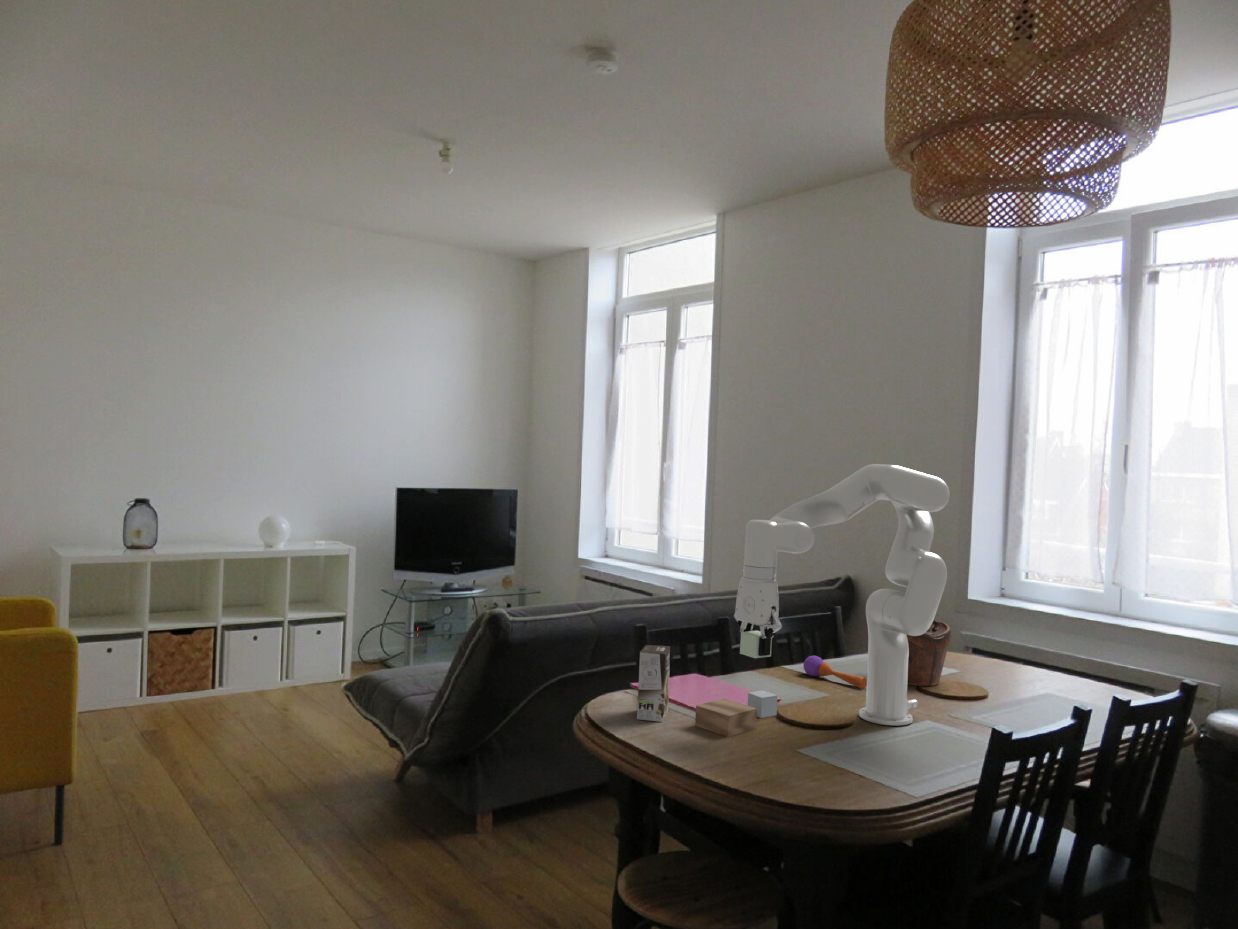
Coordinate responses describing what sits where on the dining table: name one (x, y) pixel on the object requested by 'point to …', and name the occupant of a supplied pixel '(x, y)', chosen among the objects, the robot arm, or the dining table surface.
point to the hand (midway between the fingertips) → (755, 651)
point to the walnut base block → (726, 717)
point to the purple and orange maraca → (830, 672)
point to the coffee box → (653, 683)
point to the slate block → (763, 703)
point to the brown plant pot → (928, 654)
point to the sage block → (751, 644)
